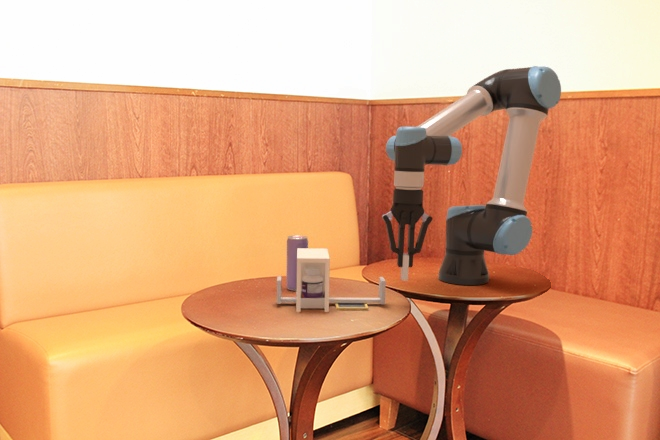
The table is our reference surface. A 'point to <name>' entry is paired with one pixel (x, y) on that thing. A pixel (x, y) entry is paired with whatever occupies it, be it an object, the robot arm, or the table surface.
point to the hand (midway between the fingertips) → (404, 279)
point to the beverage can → (294, 259)
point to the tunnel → (317, 259)
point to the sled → (321, 301)
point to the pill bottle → (312, 283)
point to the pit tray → (351, 306)
